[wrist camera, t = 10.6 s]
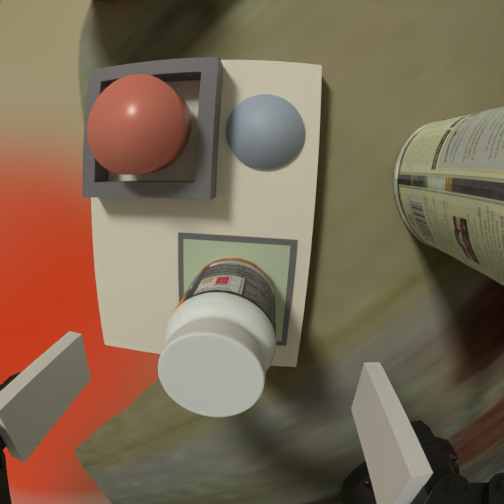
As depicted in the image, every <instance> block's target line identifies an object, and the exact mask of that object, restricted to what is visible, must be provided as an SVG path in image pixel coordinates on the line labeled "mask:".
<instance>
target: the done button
mask: <svg viewBox="0 0 504 504" xmlns="http://www.w3.org/2000/svg"><path fill="white" fill-rule="evenodd" d="M190 132H191V115H190V111H189V108H188V106H187V104H186V102H185V100H184V99H183V98H182V96H181V95H180V94H179V93H177V92H176V91H175V90H174V89H173V88H171V87H170V86H169V85H167V84H166V83H165V82H164V81H162V80H160V79H159V78H157V77H154V76H151V75H147V74H133V75H128V76H125V77H122V78H120V79H118V80H116V81H115V82H113V83H112V84H110V85H109V86H108V87H107V88H106V89H105V90H104V91H103V92H102V93H101V94H100V95H99V96H98V98H97V99H96V101H95V103H94V105H93V107H92V109H91V111H90V114H89V118H88V123H87V139H88V144H89V147H90V150H91V152H92V154H93V156H94V157H95V159H96V160H97V161H98V162H99V163H100V164H101V165H102V166H103V167H104V168H106V169H107V170H109V171H111V172H114V173H117V174H121V175H134V174H149V173H154V172H157V171H160V170H162V169H164V168H166V167H168V166H169V165H171V164H172V163H173V162H174V161H175V160H176V159H177V158H178V157H179V156H180V155H181V153H182V152H183V150H184V148H185V147H186V145H187V142H188V140H189V136H190Z"/></svg>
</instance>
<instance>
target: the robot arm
mask: <svg viewBox="0 0 504 504" xmlns="http://www.w3.org/2000/svg"><path fill="white" fill-rule="evenodd" d="M90 380H91V377H90V372H89V368H88V363H87V359H86V354H85V349H84V343H83V338H82V334H80V333H75V332H71V331H69V332H68V333H67V334H66V335H65V336H63V337H62V338H61V339H60V340H59V341H57V342H56V343H55V344H54V345H53V346H51V347H50V348H49V349H48V350H47V351H46V352H44V353H43V354H42V355H41V356H40V357H39V358H37V359H36V360H35V361H34V362H33V363H32V364H31V365H29V366H28V367H27V368H26V369H25V370H24V371H23V372H22V373H17V374H15V375H13V376H10V377H9V378H8V379H7V380H6V381H5V382H4V383H3V384H1V385H0V504H11V498H10V492H9V485H8V478H7V470H6V460H5V454H4V452H3V449H4V448H5V447H7V448H8V450H9V452H10V454H11V455H12V456H13V457H15V458H17V459H19V460H21V461H22V462H26V460H27V459H28V457H29V456H30V455H31V454H32V452H33V451H34V450H35V449H36V447H37V446H38V445H39V444H40V442H41V441H42V440H43V438H44V437H45V436H46V435H47V433H48V432H49V431H50V429H51V428H52V427H53V426H54V425H55V423H56V422H57V421H58V419H59V418H60V417H61V416H62V415H63V413H64V412H65V411H66V409H67V408H68V407H69V406H70V405H71V403H72V402H73V401H74V400H75V399H76V397H77V396H78V395H79V394H80V393H81V391H82V390H83V389H84V388H85V386H86V385H87V384H88V383H89V382H90ZM351 410H352V414H353V417H354V421H355V424H356V428H357V431H358V435H359V438H360V442H361V445H362V449H363V453H364V456H365V460H366V462H364V463H363V464H361V465H360V466H359V467H357V468H356V469H355V470H354V471H353V472H352V473H351V474H350V475H349V476H348V477H347V479H346V480H345V482H344V484H343V486H342V495H343V501H344V504H504V473H498V474H496V475H494V476H493V477H492V478H491V480H490V481H489V482H488V483H469V482H468V481H467V480H466V479H465V477H463V476H461V475H459V462H458V457H457V455H456V453H455V451H454V449H453V447H452V445H451V444H450V443H449V442H448V441H447V440H444V439H441V438H434V435H433V433H432V431H431V429H430V428H429V427H428V426H427V425H426V424H425V423H423V422H422V421H421V420H419V421H412V422H409V419H408V417H407V415H406V413H405V411H404V409H403V407H402V405H401V403H400V401H399V399H398V397H397V395H396V393H395V391H394V389H393V387H392V385H391V383H390V381H389V379H388V377H387V375H386V373H385V371H384V370H383V368H382V366H381V364H380V362H365V363H364V364H363V368H362V372H361V376H360V380H359V383H358V387H357V391H356V394H355V398H354V401H353V404H352V408H351Z"/></svg>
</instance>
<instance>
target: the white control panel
mask: <svg viewBox="0 0 504 504" xmlns="http://www.w3.org/2000/svg"><path fill="white" fill-rule="evenodd" d="M133 74H147V75H151V76H154V77H157V78H159V79H160V80H162V81H164V82H165V83H166V84H167V85H169V86H170V87H171V88H173V89H174V90H175V91H176V92H177V93H179V94H180V95H181V96H182V98H183V99H184V100H185V102H186V104H187V106H188V108H189V111H190V115H191V132H190V136H189V140H188V142H187V145H186V147H185V148H184V150H183V152H182V153H181V155H180V156H179V157H178V158H177V159H176V160H175V161H174V162H173V163H172V164H171V165H169V166H168V167H166V168H164V169H162V170H160V171H157V172H154V173H149V174H134V175H121V174H117V173H114V172H111V171H109V170H107V169H106V168H104V167H103V166H102V165H101V164H100V163H99V162H98V161H97V160H96V159H95V157H94V156H93V154H92V152H91V150H90V147H89V144H88V139H87V123H88V118H89V114H90V111H91V109H92V107H93V105H94V103H95V101H96V99H97V98H98V96H99V95H100V94H101V93H102V92H103V91H104V90H105V89H106V88H107V87H108V86H109V85H110V84H112V83H113V82H115V81H116V80H118V79H120V78H122V77H125V76H128V75H133ZM321 80H322V65H314V64H304V63H293V62H279V61H259V60H220V58H219V57H197V58H180V59H167V60H156V61H147V62H139V63H131V64H124V65H117V66H111V67H105V68H100V69H94V70H91V73H90V80H89V88H88V97H87V106H86V117H85V130H84V148H83V197H91V198H92V199H91V206H92V235H93V251H94V264H95V276H96V285H97V294H98V303H99V310H100V318H101V324H102V331H103V337H104V343H105V345H110V346H115V347H120V348H126V349H132V350H138V351H143V352H150V353H156V354H161V352H162V350H163V348H164V346H165V330H166V326H167V323H168V320H169V318H170V316H171V315H172V313H173V311H174V310H175V308H176V307H177V305H178V304H179V302H180V301H181V299H182V298H183V296H184V294H185V293H186V291H187V289H188V288H189V286H190V284H191V283H192V281H193V280H194V279H195V277H196V276H197V274H198V273H199V272H200V270H201V269H202V268H203V267H204V266H206V265H207V264H208V263H210V262H211V261H213V260H216V259H218V258H222V257H227V256H236V257H242V258H246V259H248V260H250V261H252V262H254V263H256V264H257V265H259V266H260V267H261V268H262V269H263V270H264V271H265V272H266V273H267V275H268V276H269V278H270V280H271V282H272V285H273V288H274V295H275V306H276V308H275V318H276V321H275V322H276V350H275V355H274V358H273V361H272V363H271V365H270V366H285V367H296V365H297V359H298V352H299V345H300V338H301V330H302V323H303V315H304V307H305V299H306V290H307V282H308V273H309V263H310V254H311V243H312V233H313V222H314V210H315V197H316V184H317V169H318V153H319V134H320V112H321Z"/></svg>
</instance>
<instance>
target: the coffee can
mask: <svg viewBox="0 0 504 504" xmlns="http://www.w3.org/2000/svg"><path fill="white" fill-rule="evenodd" d="M394 193H395V200H396V203H397V207H398V210H399V212H400V215H401V217H402V219H403V221H404V223H405V224H406V226H407V228H408V229H409V230H410V231H411V233H412V234H413V235H414V236H415V237H416V238H417V239H418V240H419V241H421V242H422V243H424V244H426V245H428V246H430V247H433V248H436V249H437V250H439V251H441V252H443V253H445V254H447V255H449V256H451V257H452V258H454V259H456V260H458V261H460V262H462V263H464V264H465V265H467V266H469V267H471V268H472V269H474V270H476V271H478V272H479V273H481V274H483V275H485V276H486V277H488V278H489V279H491V280H492V281H494V282H496V283H498V284H500V285H501V286H503V287H504V107H500V108H495V109H490V110H486V111H481V112H477V113H473V114H468V115H464V116H460V117H456V118H452V119H448V120H444V121H435V122H431V123H428V124H426V125H424V126H422V127H420V128H419V129H417V130H416V131H415V132H414V133H413V134H412V135H411V136H410V137H409V138H408V139H407V141H406V142H405V144H404V145H403V146H402V148H401V151H400V154H399V156H398V159H397V162H396V166H395V172H394Z"/></svg>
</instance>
